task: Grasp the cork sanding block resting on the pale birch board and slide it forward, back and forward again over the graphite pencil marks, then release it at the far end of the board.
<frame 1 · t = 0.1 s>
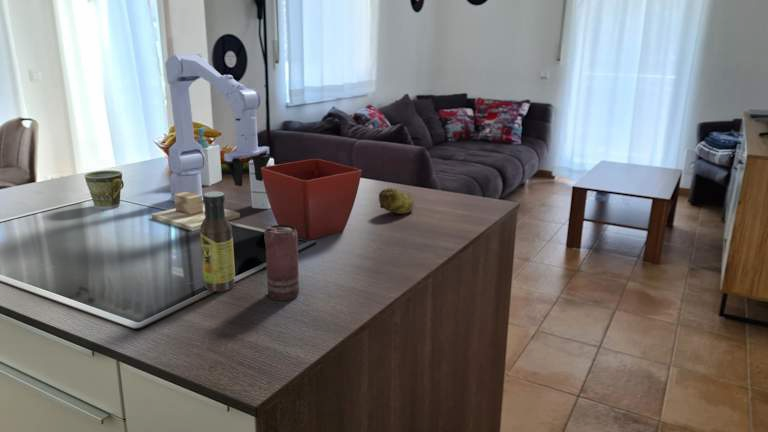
hand: (249, 182, 163), 10 cm above the kitchen island, tool pointing down, fingers open, 7 cm apart
can: (283, 295, 117), on the kitchen island
sanding block: (189, 211, 166), point 1 cm above the kitchen island, touching board
ceramic cup: (111, 208, 173), on the kitchen island
soap bottle: (205, 182, 204), on the kitchen island
plant pot: (312, 231, 156), on the kitchen island
sauce bottle: (220, 287, 120), on the kitchen island
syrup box: (264, 206, 177), on the kitchen island
yellow-green lumpy oblong piece: (397, 214, 172), on the kitchen island
board: (196, 217, 165), on the kitchen island
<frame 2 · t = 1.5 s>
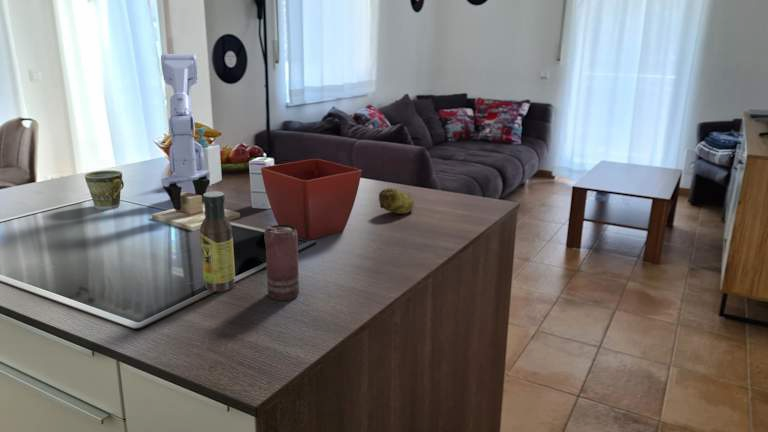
hand: (188, 206, 165), 3 cm above the kitchen island, tool pointing down, fingers open, 7 cm apart
nothing on the kitchen island moved.
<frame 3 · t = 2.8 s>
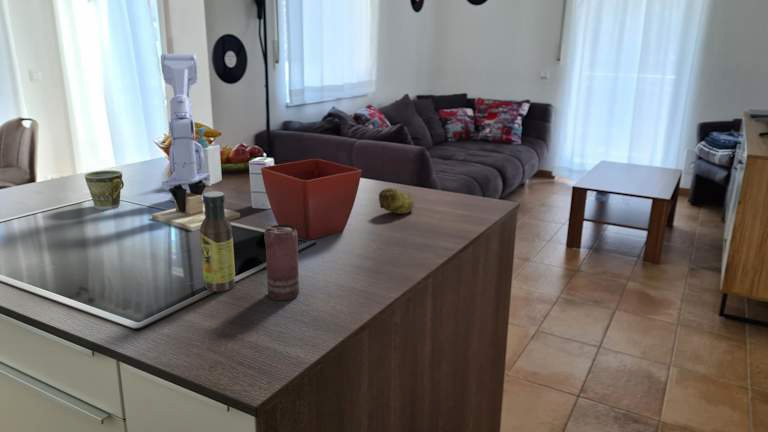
hand: (189, 209, 166), 2 cm above the kitchen island, tool pointing down, fingers closed on sanding block, 4 cm apart
sanding block: (189, 211, 166), point 1 cm above the kitchen island, touching board, gripper
everything else where it was.
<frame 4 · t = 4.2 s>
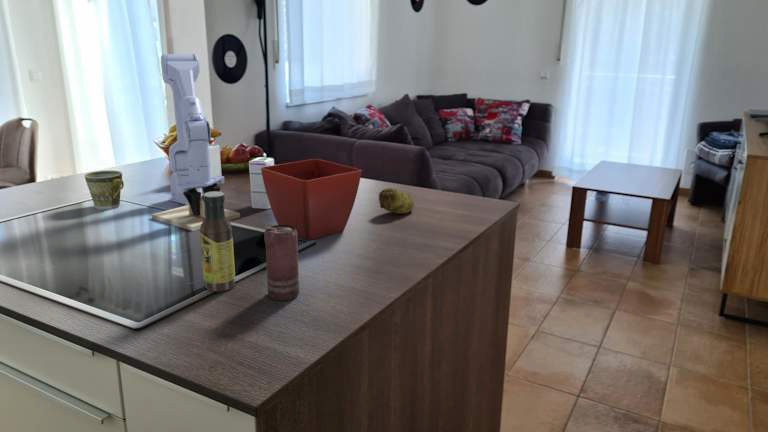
hand: (203, 213, 162), 2 cm above the kitchen island, tool pointing down, fingers closed on sanding block, 4 cm apart
sanding block: (203, 215, 162), point 1 cm above the kitchen island, touching gripper
everything else where it was.
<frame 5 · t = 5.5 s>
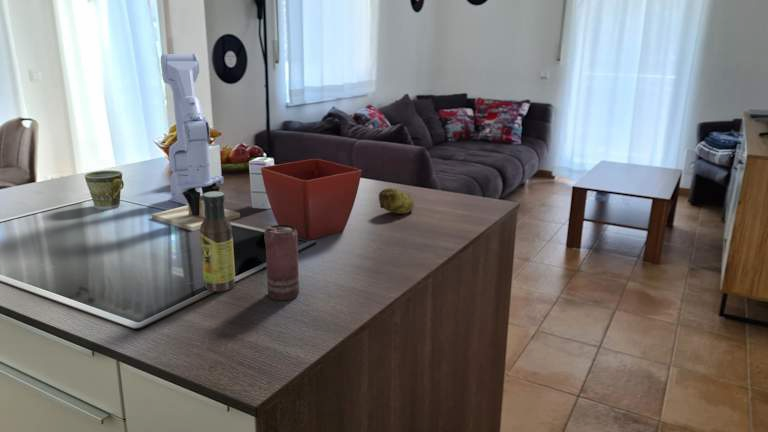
hand: (202, 212, 163), 2 cm above the kitchen island, tool pointing down, fingers closed on sanding block, 4 cm apart
sanding block: (202, 215, 163), point 1 cm above the kitchen island, touching gripper
everything else where it was.
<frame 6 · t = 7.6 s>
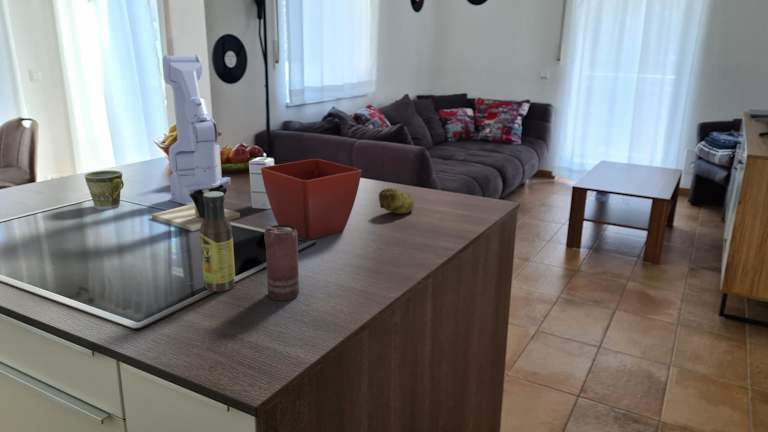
hand: (209, 214, 161), 2 cm above the kitchen island, tool pointing down, fingers closed on sanding block, 4 cm apart
sanding block: (209, 217, 161), point 1 cm above the kitchen island, touching gripper
everything else where it was.
when the fingers open (2 cm above the kitchen island, at t = 8.7 s): sanding block stays where it is, resting on board.
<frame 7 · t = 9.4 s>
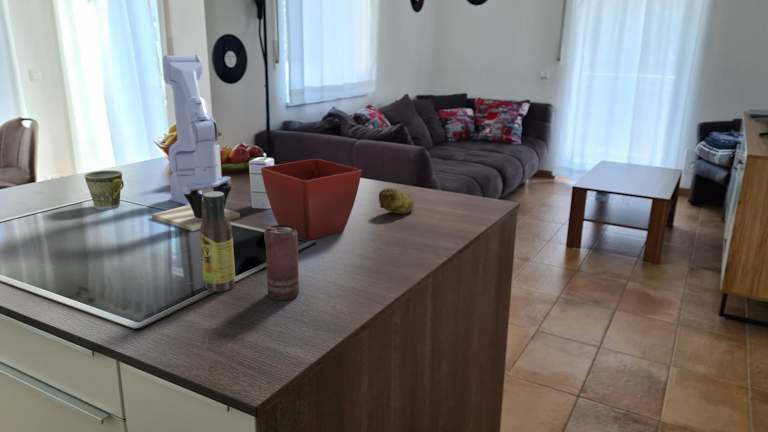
hand: (209, 214, 161), 2 cm above the kitchen island, tool pointing down, fingers open, 7 cm apart
sanding block: (209, 217, 161), point 1 cm above the kitchen island, touching board
everything else where it was.
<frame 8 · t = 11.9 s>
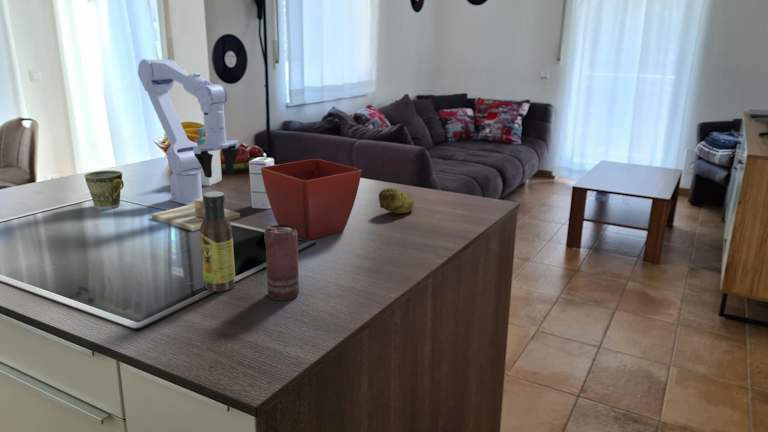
hand: (219, 174, 170), 10 cm above the kitchen island, tool pointing down, fingers open, 7 cm apart
nothing on the kitchen island moved.
at the end: sanding block inside the target area on the board (0.3 cm from its centre), point 1.2 cm above the board's base; sanding block tilted 0°; the gripper is holding nothing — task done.
